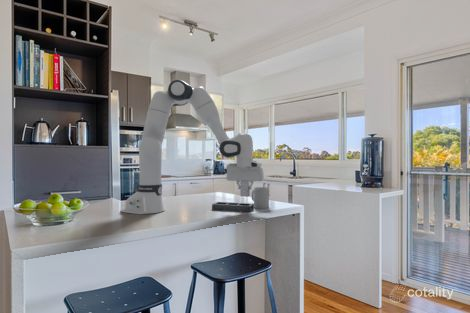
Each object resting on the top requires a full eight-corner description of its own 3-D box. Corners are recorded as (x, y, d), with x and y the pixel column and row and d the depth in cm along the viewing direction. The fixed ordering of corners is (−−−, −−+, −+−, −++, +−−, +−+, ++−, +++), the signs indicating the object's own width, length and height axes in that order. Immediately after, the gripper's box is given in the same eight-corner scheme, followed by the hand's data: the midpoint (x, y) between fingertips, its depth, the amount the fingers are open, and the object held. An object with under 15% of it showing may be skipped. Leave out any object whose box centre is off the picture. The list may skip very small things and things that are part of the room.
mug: (272, 207, 169) (272, 188, 169) (261, 209, 163) (261, 189, 163) (257, 204, 178) (257, 186, 178) (246, 206, 172) (246, 187, 172)
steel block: (240, 196, 159) (240, 181, 159) (242, 195, 163) (242, 180, 163) (247, 196, 158) (247, 181, 158) (249, 195, 162) (249, 180, 162)
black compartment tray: (212, 209, 162) (212, 204, 162) (217, 206, 170) (217, 201, 170) (249, 212, 155) (250, 206, 155) (253, 209, 164) (253, 203, 164)
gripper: (224, 163, 161) (224, 189, 161) (262, 163, 155) (262, 190, 155) (228, 163, 167) (228, 187, 167) (264, 163, 161) (264, 189, 161)
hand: (245, 189), depth 161 cm, fingers closed on steel block, 4 cm apart
